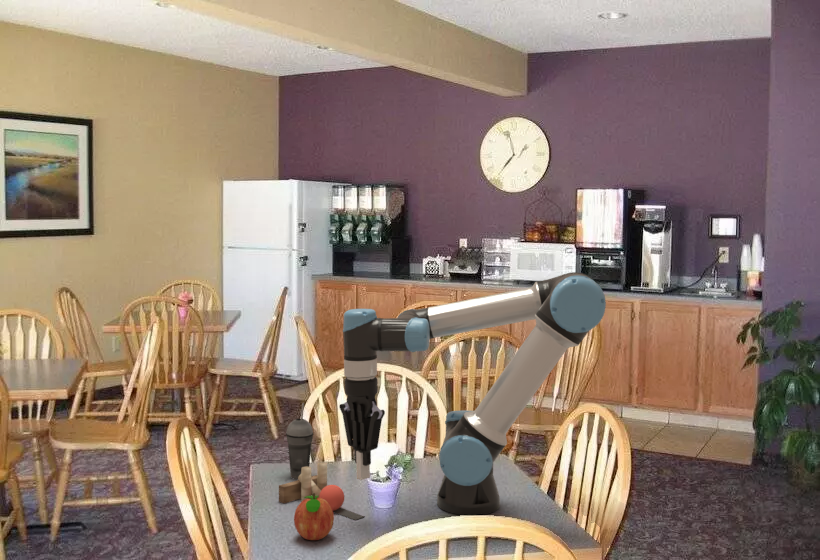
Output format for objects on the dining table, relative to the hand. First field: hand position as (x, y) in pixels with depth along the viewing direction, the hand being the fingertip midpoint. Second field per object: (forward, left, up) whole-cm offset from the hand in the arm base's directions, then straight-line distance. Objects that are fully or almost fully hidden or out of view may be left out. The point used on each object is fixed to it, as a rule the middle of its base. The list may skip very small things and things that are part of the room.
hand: (363, 478), depth 208 cm
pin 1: (+17, -3, -10) cm, 20 cm away
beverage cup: (+29, -21, -10) cm, 37 cm away
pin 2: (+15, -8, -10) cm, 19 cm away
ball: (+9, -2, -7) cm, 12 cm away
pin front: (+13, -4, -9) cm, 16 cm away
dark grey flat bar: (+5, -1, -10) cm, 11 cm away
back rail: (+21, -7, -10) cm, 24 cm away
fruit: (+4, +15, -10) cm, 19 cm away
